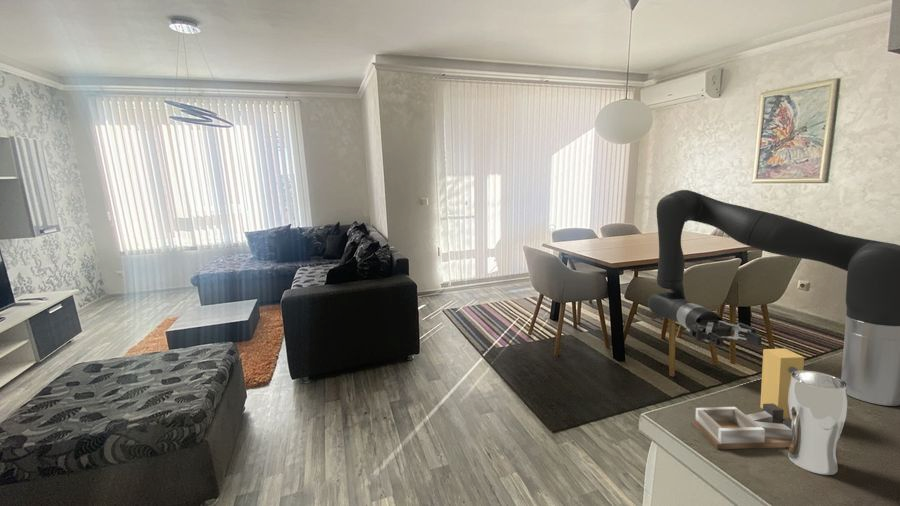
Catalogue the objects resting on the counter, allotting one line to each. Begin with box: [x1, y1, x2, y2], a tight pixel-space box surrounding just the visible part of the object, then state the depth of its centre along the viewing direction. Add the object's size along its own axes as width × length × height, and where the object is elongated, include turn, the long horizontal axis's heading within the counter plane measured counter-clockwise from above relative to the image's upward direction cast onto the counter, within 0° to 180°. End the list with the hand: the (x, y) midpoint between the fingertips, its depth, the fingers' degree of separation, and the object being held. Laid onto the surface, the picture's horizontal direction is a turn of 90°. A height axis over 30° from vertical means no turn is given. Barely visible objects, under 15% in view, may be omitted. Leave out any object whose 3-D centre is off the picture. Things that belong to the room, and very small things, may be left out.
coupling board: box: [691, 403, 792, 450], centre depth 71 cm, size 16×8×4 cm, turn 88°
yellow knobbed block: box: [759, 348, 805, 420], centre depth 77 cm, size 4×6×13 cm
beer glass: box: [787, 369, 848, 476], centre depth 62 cm, size 7×7×15 cm
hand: (740, 342), depth 88 cm, fingers open, 8 cm apart
